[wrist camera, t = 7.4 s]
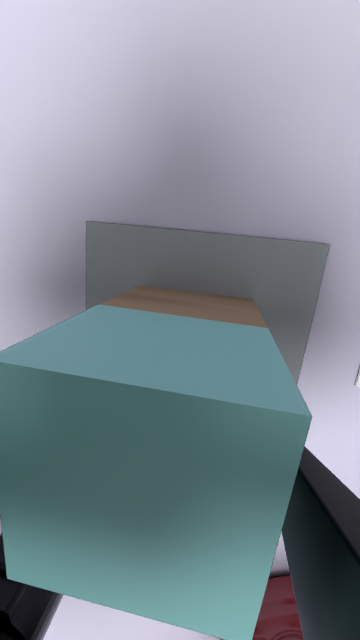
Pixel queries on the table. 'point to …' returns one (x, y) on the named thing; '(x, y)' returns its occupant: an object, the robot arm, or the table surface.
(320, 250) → the mat
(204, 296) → the walnut block
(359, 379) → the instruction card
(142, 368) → the teal block
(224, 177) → the table surface
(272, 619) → the canister
